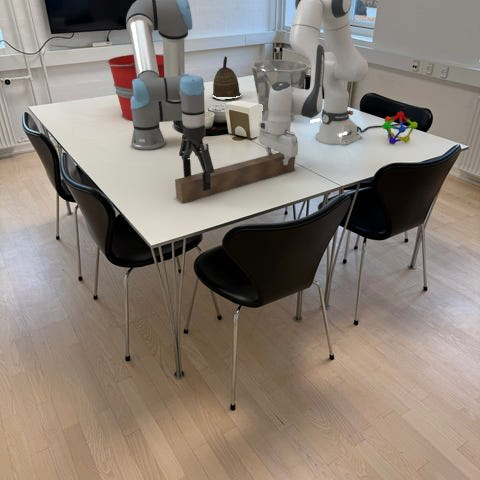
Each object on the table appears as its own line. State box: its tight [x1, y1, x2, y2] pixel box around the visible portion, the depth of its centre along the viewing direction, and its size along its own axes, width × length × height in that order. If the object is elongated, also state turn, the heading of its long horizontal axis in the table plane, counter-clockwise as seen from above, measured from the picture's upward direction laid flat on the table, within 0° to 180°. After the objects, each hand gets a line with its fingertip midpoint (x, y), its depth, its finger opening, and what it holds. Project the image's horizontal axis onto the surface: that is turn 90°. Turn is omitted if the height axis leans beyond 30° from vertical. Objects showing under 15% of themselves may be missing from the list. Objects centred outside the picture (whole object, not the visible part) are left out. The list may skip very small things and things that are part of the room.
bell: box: [212, 56, 242, 97], centre depth 278 cm, size 19×26×20 cm
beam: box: [174, 152, 296, 204], centre depth 169 cm, size 52×5×7 cm, turn 125°
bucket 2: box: [251, 59, 309, 122], centre depth 236 cm, size 30×30×28 cm
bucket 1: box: [104, 53, 165, 121], centre depth 240 cm, size 35×35×30 cm
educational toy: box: [382, 110, 418, 145], centre depth 207 cm, size 16×13×15 cm
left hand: (196, 182), depth 159 cm, fingers open, 13 cm apart
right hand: (277, 160), depth 177 cm, fingers open, 8 cm apart
